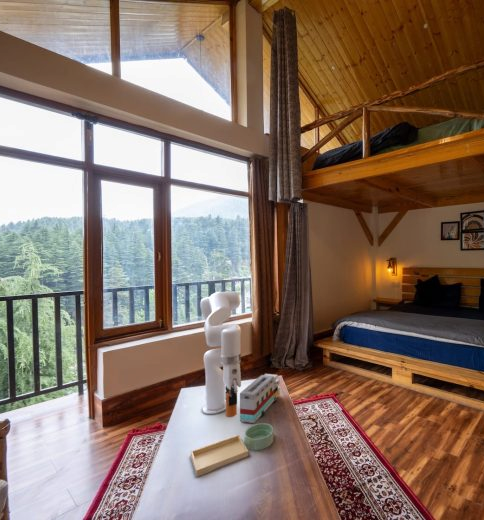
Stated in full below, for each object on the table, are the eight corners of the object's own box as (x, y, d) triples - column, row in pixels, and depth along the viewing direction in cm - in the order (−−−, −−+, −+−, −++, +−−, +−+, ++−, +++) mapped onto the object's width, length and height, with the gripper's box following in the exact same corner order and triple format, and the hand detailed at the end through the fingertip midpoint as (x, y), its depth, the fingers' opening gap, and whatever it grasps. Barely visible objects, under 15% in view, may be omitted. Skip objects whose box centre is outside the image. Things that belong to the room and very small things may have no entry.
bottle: (224, 414, 124) (224, 388, 124) (234, 410, 126) (234, 386, 126) (227, 418, 120) (227, 392, 120) (237, 415, 123) (237, 389, 123)
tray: (190, 457, 121) (190, 451, 121) (238, 440, 132) (238, 434, 132) (196, 477, 110) (196, 470, 110) (248, 456, 121) (248, 450, 121)
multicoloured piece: (280, 396, 173) (280, 370, 173) (254, 425, 143) (254, 394, 143) (267, 395, 174) (267, 369, 174) (239, 423, 145) (239, 393, 144)
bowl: (241, 440, 132) (241, 429, 132) (267, 431, 139) (267, 420, 139) (250, 455, 122) (250, 443, 122) (277, 444, 129) (277, 433, 129)
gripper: (246, 362, 118) (246, 408, 119) (234, 351, 132) (234, 392, 132) (227, 366, 114) (227, 414, 114) (216, 354, 127) (216, 397, 128)
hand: (231, 401), depth 123 cm, fingers closed on bottle, 4 cm apart
